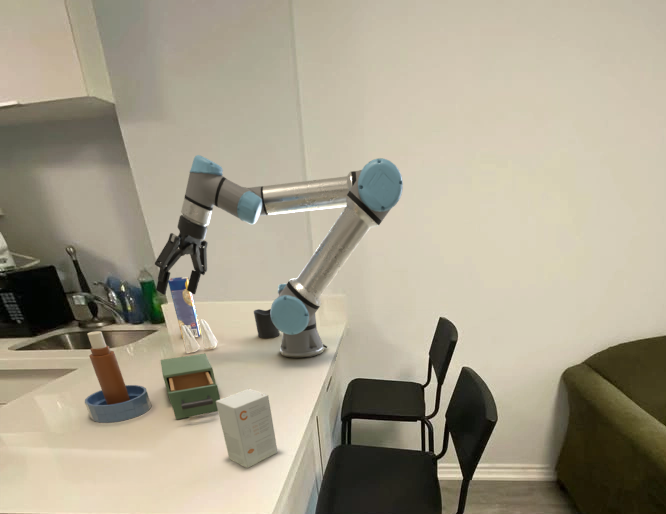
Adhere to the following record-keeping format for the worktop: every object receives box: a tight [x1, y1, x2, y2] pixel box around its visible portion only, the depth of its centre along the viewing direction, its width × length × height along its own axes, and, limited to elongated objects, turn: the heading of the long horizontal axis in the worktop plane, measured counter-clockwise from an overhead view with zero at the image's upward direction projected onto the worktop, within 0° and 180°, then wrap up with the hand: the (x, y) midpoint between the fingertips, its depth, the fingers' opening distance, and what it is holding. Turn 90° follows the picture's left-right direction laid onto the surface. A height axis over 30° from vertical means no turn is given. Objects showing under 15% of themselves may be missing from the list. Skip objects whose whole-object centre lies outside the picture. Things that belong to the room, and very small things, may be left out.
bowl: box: [84, 384, 152, 424], centre depth 110 cm, size 14×14×5 cm
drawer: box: [167, 371, 221, 420], centre depth 108 cm, size 18×11×7 cm, turn 24°
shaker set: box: [180, 318, 219, 354], centre depth 157 cm, size 12×4×11 cm, turn 111°
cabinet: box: [160, 352, 217, 404], centre depth 120 cm, size 15×12×8 cm
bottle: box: [87, 330, 130, 405], centre depth 106 cm, size 5×5×20 cm
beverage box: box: [168, 276, 201, 340], centre depth 176 cm, size 7×11×22 cm, turn 15°
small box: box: [216, 388, 278, 469], centre depth 85 cm, size 8×6×13 cm
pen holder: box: [253, 308, 281, 339], centre depth 173 cm, size 9×9×10 cm
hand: (176, 292), depth 130 cm, fingers open, 13 cm apart
